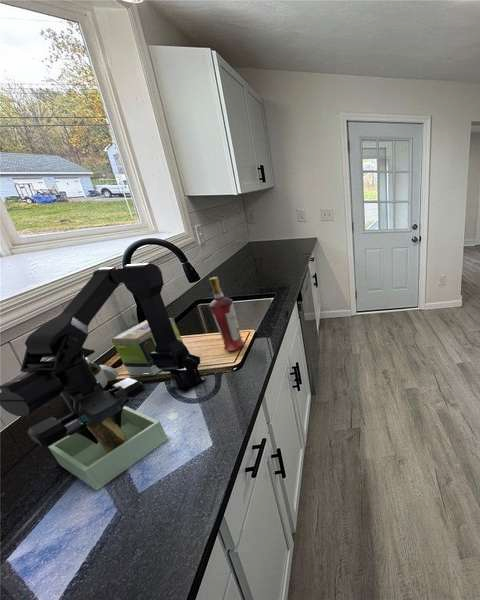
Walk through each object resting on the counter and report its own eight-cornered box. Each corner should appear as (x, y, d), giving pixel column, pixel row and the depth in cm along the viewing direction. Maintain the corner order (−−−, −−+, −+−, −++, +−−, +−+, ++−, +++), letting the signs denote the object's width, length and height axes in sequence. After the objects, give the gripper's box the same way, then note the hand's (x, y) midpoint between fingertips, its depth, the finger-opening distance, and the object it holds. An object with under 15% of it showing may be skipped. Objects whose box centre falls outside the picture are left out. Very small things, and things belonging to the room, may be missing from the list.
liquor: (228, 344, 121) (207, 275, 111) (248, 342, 122) (228, 273, 111) (221, 354, 115) (197, 282, 104) (241, 352, 115) (219, 280, 104)
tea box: (164, 351, 119) (150, 316, 113) (187, 352, 118) (174, 317, 112) (127, 375, 105) (109, 337, 100) (153, 376, 104) (136, 338, 98)
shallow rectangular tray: (131, 421, 85) (122, 404, 83) (168, 439, 78) (159, 421, 76) (60, 465, 73) (47, 446, 70) (96, 490, 66) (84, 471, 64)
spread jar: (62, 407, 92) (42, 375, 87) (78, 386, 101) (60, 356, 97) (114, 393, 97) (97, 361, 92) (123, 374, 106) (109, 345, 102)
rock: (83, 431, 76) (64, 453, 67) (106, 399, 77) (90, 416, 68) (133, 444, 81) (121, 466, 72) (154, 414, 82) (144, 432, 73)
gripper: (33, 422, 56) (73, 482, 63) (145, 365, 72) (169, 417, 78) (8, 407, 61) (48, 464, 67) (119, 356, 76) (143, 406, 83)
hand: (108, 436), depth 74 cm, fingers closed on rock, 4 cm apart
